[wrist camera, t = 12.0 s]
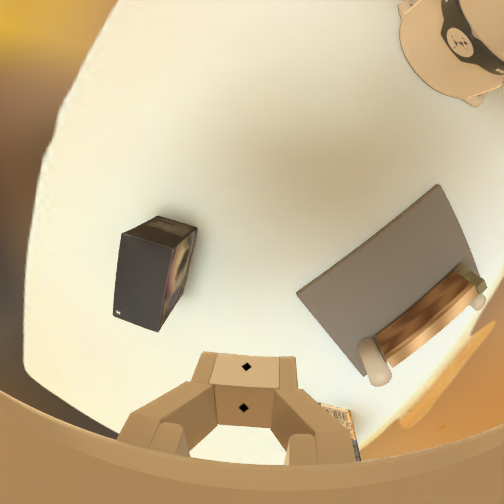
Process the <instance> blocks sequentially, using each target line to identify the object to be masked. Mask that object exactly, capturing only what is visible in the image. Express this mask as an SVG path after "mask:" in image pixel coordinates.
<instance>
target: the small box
mask: <svg viewBox="0 0 504 504" xmlns="http://www.w3.org/2000/svg"><path fill="white" fill-rule="evenodd" d="M196 233H197V228H196V227H193V226H190V225H187V224H184V223H180V222H177V221H173V220H170V219H167V218H163V217H160V216H156V217H154V218H152V219H151V220H149V221H147V222H145V223H143V224H141V225H139V226H137V227H135V228H133V229H131V230H129V231H127V232H124V233H122V234H121V241H120V247H119V255H118V263H117V271H116V281H115V291H114V304H113V316H114V317H117V318H120V319H122V320H125V321H127V322H130V323H133V324H136V325H138V326H141V327H143V328H146V329H149V330H152V331H155V332H159V330H160V329H161V327H162V325H163V324H164V322H165V321H166V319H167V317H168V316H169V314H170V313H171V311H172V310H173V308H174V306H175V305H176V303H177V302H178V300H179V299H180V297H181V296H182V293H183V288H184V284H185V279H186V275H187V271H188V266H189V262H190V258H191V254H192V249H193V245H194V241H195V237H196Z"/></svg>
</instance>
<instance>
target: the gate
mask: <svg viewBox="0 0 504 504" xmlns="http://www.w3.org/2000/svg"><path fill="white" fill-rule="evenodd" d="M486 288H487V286H486V283H485V280H484V279H482V278H481V277H479V276H478V275H476V274H475V273H473V272H472V271H470V270H469V269H467V268H466V267H464V266H463V265H461V264H459V265H458V266H457V267H456V268H455V269H454V270H453V271H452V272H451V273H450V274H449V275H448V276H447V277H445V278H444V279H443V280H442V281H441V282H440V283H439V284H438V285H437V286H436V287H435V288H433V289H432V290H431V291H430V292H429V293H428V294H427V295H425V296H424V297H423V298H422V299H421V300H420V301H419V302H417V303H416V304H415V305H414V306H413V307H411V308H410V309H409V310H408V311H407V312H405V313H404V314H403V315H402V316H400V317H399V318H398V319H397V320H395V321H394V322H393V323H392V324H390V325H389V326H388V327H386V328H385V329H384V330H382V331H381V332H380V333H379V334H377V335H376V336H375V338H376V340H377V342H378V344H379V346H380V348H381V350H382V352H383V354H384V356H385V358H386V360H387V361H388V363H389V364H390V365H391V366H392V368H393V367H395V366H396V365H397V364H399V363H400V362H402V361H403V360H404V359H406V358H407V357H408V356H410V355H411V354H412V353H413V352H415V351H416V350H417V349H419V348H420V347H421V346H422V345H424V344H425V343H426V342H427V341H429V340H430V339H431V338H432V337H433V336H435V335H436V334H437V333H438V332H439V331H441V330H442V329H443V328H444V327H445V326H446V325H448V324H449V323H450V322H451V321H452V320H453V319H454V318H455V317H456V316H458V315H459V314H460V313H461V312H462V311H463V310H464V309H465V308H466V307H467V306H468V305H469V304H470V303H471V302H472V301H473V300H474V299H475V298H476V297H477V296H478V294H479V295H481V293H482V292H483V291H484V290H485V289H486Z"/></svg>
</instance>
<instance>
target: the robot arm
mask: <svg viewBox="0 0 504 504" xmlns="http://www.w3.org/2000/svg"><path fill="white" fill-rule="evenodd" d="M411 6H412V7H411ZM398 10H399V13H400V16H401V26H400V42H401V46H402V49H403V51H404V54H405V56H406V58H407V60H408V62H409V63H410V65H411V66H412V68H413V69H414V70H415V72H416V73H417V74H418V75H419V76H420V77H421V78H422V79H423V80H424V81H425V82H426V83H427V84H428V85H429V86H431V87H432V88H434V89H435V90H437V91H439V92H440V93H443V94H445V95H448V96H452V97H458V98H461V99H463V100H464V101H465V102H467V103H468V104H470V105H472V106H474V107H476V106H479V105H480V104H481V103H482V101H483V100H484V98H485V97H486V95H487V94H488V92H489V91H492V90H495V89H498V88H500V87H501V83H502V82H503V80H504V0H406V1H402V2H401V3H399V4H398ZM217 424H220V425H234V426H248V427H261V428H271V431H272V432H273V434H274V435H275V436H276V438H277V439H278V441H279V442H280V444H281V445H282V446H283V448H284V449H285V451H286V452H287V453H286V458H285V464H284V465H256V464H241V463H230V462H221V461H212V460H205V459H198V458H192V457H190V454H189V451H190V450H191V449H192V448H194V447H195V446H196V445H197V444H198V443H199V442H200V441H201V440H202V439H203V438H205V437H206V436H207V435H208V434H209V433H210V432H211V431H212V430H213V429H214V428H215V427H216V426H217ZM0 504H504V424H501V425H499V426H497V427H494V428H492V429H489V430H486V431H484V432H481V433H478V434H476V435H473V436H470V437H467V438H464V439H461V440H458V441H455V442H451V443H448V444H444V445H440V446H437V447H433V448H429V449H425V450H421V451H417V452H412V453H407V454H403V455H398V456H392V457H386V458H380V459H373V460H366V461H358V462H356V459H355V454H354V449H353V444H352V440H351V435H350V431H349V430H348V429H347V428H346V427H344V426H343V425H342V424H341V423H340V422H339V421H337V420H336V419H335V418H334V417H333V416H332V415H331V414H330V413H328V412H327V411H326V410H325V409H324V408H323V407H322V406H321V405H319V404H318V403H317V402H316V401H315V400H314V399H313V398H312V397H311V396H310V395H308V394H307V393H306V392H305V391H304V390H303V389H298V382H297V369H296V358H295V357H294V356H279V357H264V356H248V355H236V354H225V353H215V352H203V353H202V354H201V356H200V359H199V361H198V364H197V366H196V369H195V372H194V374H193V377H192V380H191V382H187V381H186V382H184V383H183V384H181V385H179V386H178V387H176V388H174V389H173V390H171V391H169V392H168V393H166V394H164V395H162V396H161V397H159V398H157V399H155V400H154V401H152V402H150V403H148V404H147V405H145V406H143V407H141V408H139V409H138V410H136V411H134V412H132V413H131V414H130V415H129V417H128V419H127V421H126V423H125V425H124V426H123V428H122V430H121V432H120V434H119V436H118V438H117V440H114V439H111V438H108V437H105V436H102V435H99V434H96V433H93V432H90V431H87V430H84V429H81V428H79V427H76V426H74V425H71V424H69V423H66V422H64V421H61V420H59V419H56V418H54V417H52V416H50V415H47V414H45V413H43V412H41V411H39V410H37V409H34V408H32V407H30V406H28V405H26V404H24V403H23V402H21V401H19V400H17V399H15V398H13V397H11V396H9V395H7V394H5V393H4V392H2V391H0Z"/></svg>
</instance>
